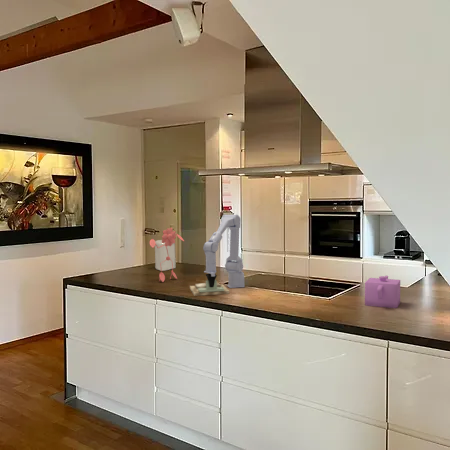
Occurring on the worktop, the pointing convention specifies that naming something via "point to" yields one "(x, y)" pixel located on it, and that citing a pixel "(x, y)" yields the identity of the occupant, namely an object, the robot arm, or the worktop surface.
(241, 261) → the robot arm
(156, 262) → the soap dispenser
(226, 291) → the board
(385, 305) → the teapot
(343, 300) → the worktop surface
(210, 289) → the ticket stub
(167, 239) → the figurine
